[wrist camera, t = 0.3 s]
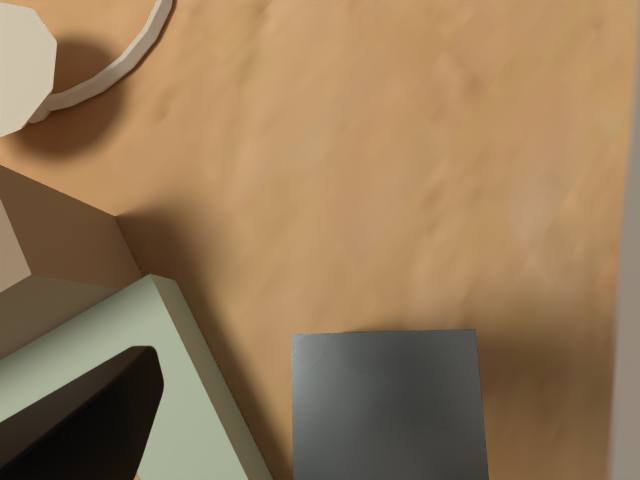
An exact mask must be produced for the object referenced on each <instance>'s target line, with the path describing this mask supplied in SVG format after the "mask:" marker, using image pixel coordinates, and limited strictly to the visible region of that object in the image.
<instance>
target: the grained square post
mask: <svg viewBox="0 0 640 480" xmlns="http://www.w3.org/2000/svg"><path fill="white" fill-rule="evenodd" d="M291 346H292V414H293V480H489V476H488V465H487V454H486V442H485V431H484V420H483V409H482V397H481V386H480V375H479V364H478V352H477V341H476V330H475V329H465V330H429V331H392V332H356V333H319V334H291Z"/></svg>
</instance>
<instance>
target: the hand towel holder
mask: <svg viewBox="0 0 640 480" xmlns="http://www.w3.org/2000/svg"><path fill="white" fill-rule="evenodd" d="M172 1H173V0H157V1H156V3H155V6H154V8H153V10H152V12H151V14H150V16H149V18H148V20H147V22H146V24H145V26H144V28H143V30H142V31H141V32H140V33H139V35H138V36H137V37H136V38H135V39H134V41H133V42H132V43H131V44H130V45H129V47H128V48H127V49H126V50H125V52H124V53H123V54H122V55H121V56H120V57H119V58H118V59H116V60H115V61H114V62H112V63H111V64H110V65H109V66H107V67H106V68H105V69H103V70H102V71H101V72H99V73H98V74H97V75H96V76H94V77H93V78H91V79H89V80H87V81H85V82H83V83H80V84H78V85H76V86H74V87H72V88H70V89H68V90H65V91H63V92H61V93H57V94H52V95H50V94H51V92H52V89H53V80H54V70H55V59H56V48H57V42H56V40H55V39H54V37H53V36H52V35H51V33H50V32H49V30H48V29H47V28H46V26H45V25H44V23H43V22H42V21H41V19H40V18H39V16H38V15H37V14H36V12H35V11H34V9H30V8H26V7H21V6H16V5H12V4H7V3H2V2H0V137H2V136H5V135H7V134H10V133H13V132H15V131H18V130H20V129H22V128H23V127H25V125H26V124H27V123H28V122H30V123H38V122H40V121H43V120H45V119H46V118H47V116H48V115H49V114H50V112H51V111H53V110H58V109H63V108H68V107H72V106H74V105H76V104H78V103H81V102H83V101H85V100H87V99H89V98H91V97H93V96H95V95H98V94H100V93H102V92H104V91H105V90H107V89H108V88H109V87H111V86H112V85H113V84H114V83H116V82H117V81H118V80H120V79H121V78H122V77H123V76H125V75H126V74H127V73H128V72H130V71H131V70H132V69H134V67H135V66H136V65H137V64H138V62H139V61H140V60H141V59H142V57H143V56H144V55H145V54H146V52H147V51H148V50H149V49H150V48H151V46H152V45H153V44H154V43H155V41H156V40H157V38H158V36H159V34H160V31H161V29H162V27H163V25H164V23H165V21H166V19H167V17H168V15H169V12H170V10H171V7H172Z"/></svg>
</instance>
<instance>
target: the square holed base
mask: <svg viewBox="0 0 640 480" xmlns="http://www.w3.org/2000/svg"><path fill="white" fill-rule="evenodd" d="M147 345H150V346H153V347H154V348H155V349H156V351H157V354H158V358H159V362H160V366H161V370H162V374H163V378H164V391H163V395H162V398H161V401H160V404H159V407H158V410H157V413H156V417H155V420H154V423H153V426H152V429H151V432H150V435H149V439H148V442H147V445H146V448H145V451H144V454H143V457H142V460H141V463H140V466H139V468H138V470H137V473H138V475H139V477H140V480H273V478H272V476H271V474H270V472H269V470H268V468H267V466H266V463H265V461H264V459H263V457H262V455H261V453H260V451H259V449H258V447H257V445H256V443H255V441H254V439H253V437H252V435H251V433H250V431H249V429H248V427H247V425H246V423H245V421H244V419H243V417H242V415H241V413H240V410H239V408H238V406H237V404H236V402H235V400H234V398H233V396H232V394H231V392H230V390H229V388H228V386H227V384H226V382H225V380H224V378H223V376H222V374H221V372H220V370H219V368H218V366H217V364H216V362H215V360H214V357H213V355H212V353H211V351H210V349H209V347H208V345H207V343H206V341H205V339H204V337H203V335H202V333H201V331H200V329H199V327H198V325H197V323H196V321H195V319H194V317H193V315H192V313H191V311H190V309H189V307H188V305H187V302H186V300H185V298H184V296H183V294H182V292H181V290H180V288H179V286H178V284H177V282H176V280H172V279H168V278H165V277H161V276H157V275H153V274H148V275H146V276H145V277H143V276H142V274H141V272H140V270H139V268H138V266H137V264H136V262H135V259H134V257H133V255H132V253H131V251H130V249H129V247H128V245H127V243H126V240H125V238H124V236H123V234H122V232H121V230H120V228H119V226H118V224H117V221H116V219H115V217H114V216H113V215H110V214H108V213H106V212H104V211H102V210H99V209H97V208H95V207H93V206H90V205H88V204H86V203H84V202H81V201H79V200H77V199H75V198H73V197H70V196H68V195H66V194H64V193H61V192H59V191H57V190H55V189H53V188H50V187H48V186H46V185H44V184H41V183H39V182H37V181H35V180H33V179H30V178H28V177H26V176H24V175H21V174H19V173H17V172H15V171H12V170H10V169H8V168H6V167H4V166H1V165H0V422H1V421H3V420H5V419H7V418H8V417H10V416H12V415H14V414H15V413H17V412H19V411H20V410H22V409H24V408H26V407H27V406H29V405H31V404H33V403H34V402H36V401H38V400H39V399H41V398H43V397H45V396H46V395H48V394H50V393H52V392H53V391H55V390H57V389H58V388H60V387H62V386H64V385H65V384H67V383H69V382H71V381H72V380H74V379H76V378H77V377H79V376H81V375H83V374H84V373H86V372H88V371H90V370H91V369H93V368H95V367H96V366H98V365H100V364H102V363H103V362H105V361H107V360H109V359H110V358H112V357H114V356H115V355H117V354H119V353H121V352H122V351H124V350H126V349H128V348H129V347H131V346H147Z"/></svg>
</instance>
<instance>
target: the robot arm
mask: <svg viewBox="0 0 640 480" xmlns="http://www.w3.org/2000/svg"><path fill="white" fill-rule="evenodd" d="M163 391H164V378H163V374H162V370H161V366H160V362H159V358H158V354H157V351H156V349H155V348H154V347H153V346H150V345H147V346H131V347H129V348H128V349H126V350H124V351H122V352H121V353H119V354H117V355H115V356H114V357H112V358H110V359H109V360H107V361H105V362H103V363H102V364H100V365H98V366H96V367H95V368H93V369H91V370H90V371H88V372H86V373H84V374H83V375H81V376H79V377H77V378H76V379H74V380H72V381H71V382H69V383H67V384H65V385H64V386H62V387H60V388H58V389H57V390H55V391H53V392H52V393H50V394H48V395H46V396H45V397H43V398H41V399H39V400H38V401H36V402H34V403H33V404H31V405H29V406H27V407H26V408H24V409H22V410H20V411H19V412H17V413H15V414H14V415H12V416H10V417H8V418H7V419H5V420H3V421H1V422H0V480H134V478H135V475H136V473H137V470H138V468H139V466H140V463H141V460H142V457H143V454H144V451H145V448H146V445H147V442H148V439H149V435H150V432H151V429H152V426H153V423H154V420H155V417H156V413H157V410H158V407H159V404H160V401H161V398H162V395H163Z"/></svg>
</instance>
